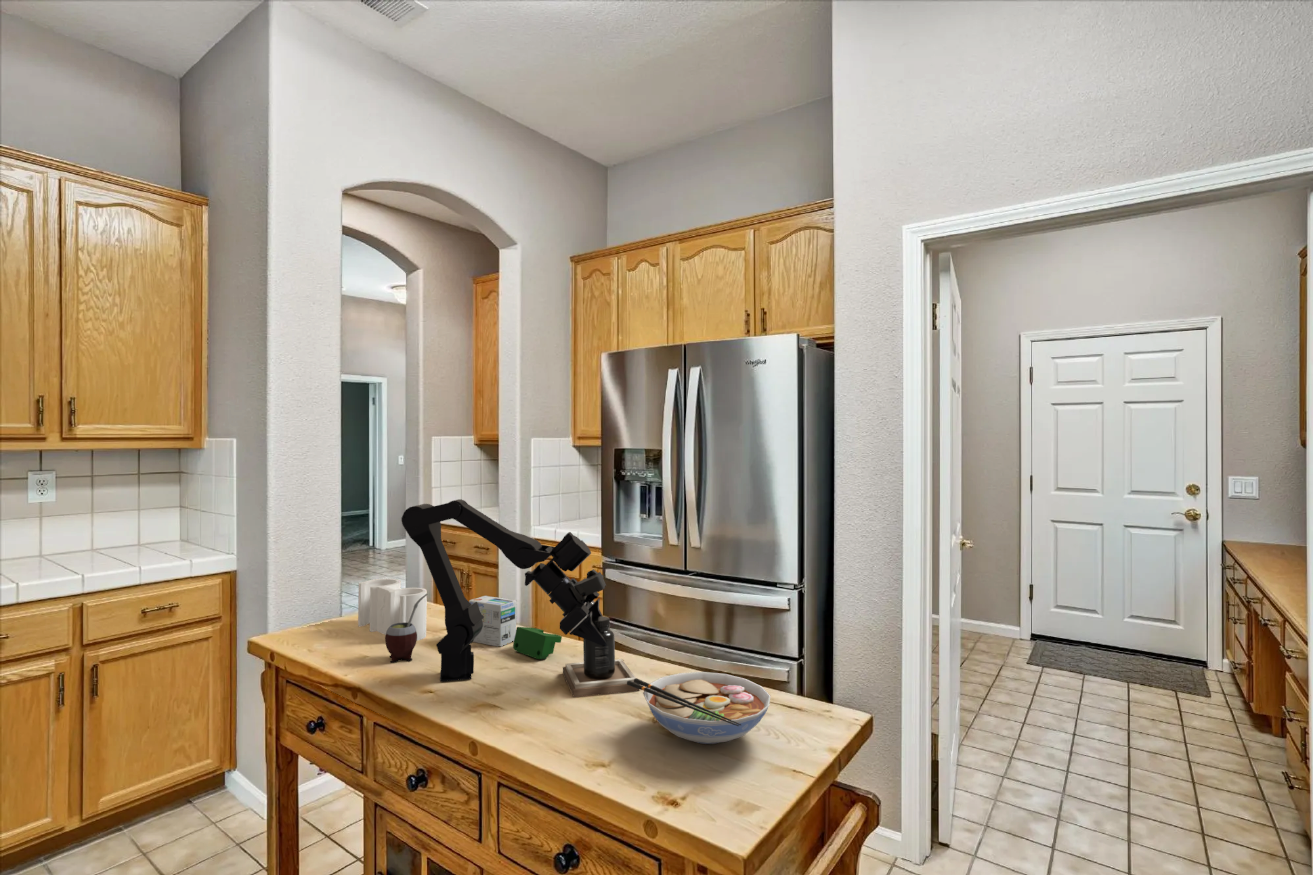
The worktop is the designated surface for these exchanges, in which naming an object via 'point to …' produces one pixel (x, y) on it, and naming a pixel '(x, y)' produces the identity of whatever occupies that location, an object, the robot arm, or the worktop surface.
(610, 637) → the supplement bottle
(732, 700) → the ramen bowl
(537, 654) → the clamp
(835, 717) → the worktop surface
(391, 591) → the white piece
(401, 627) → the mate gourd
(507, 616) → the light bulb box
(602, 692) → the beige square tray
